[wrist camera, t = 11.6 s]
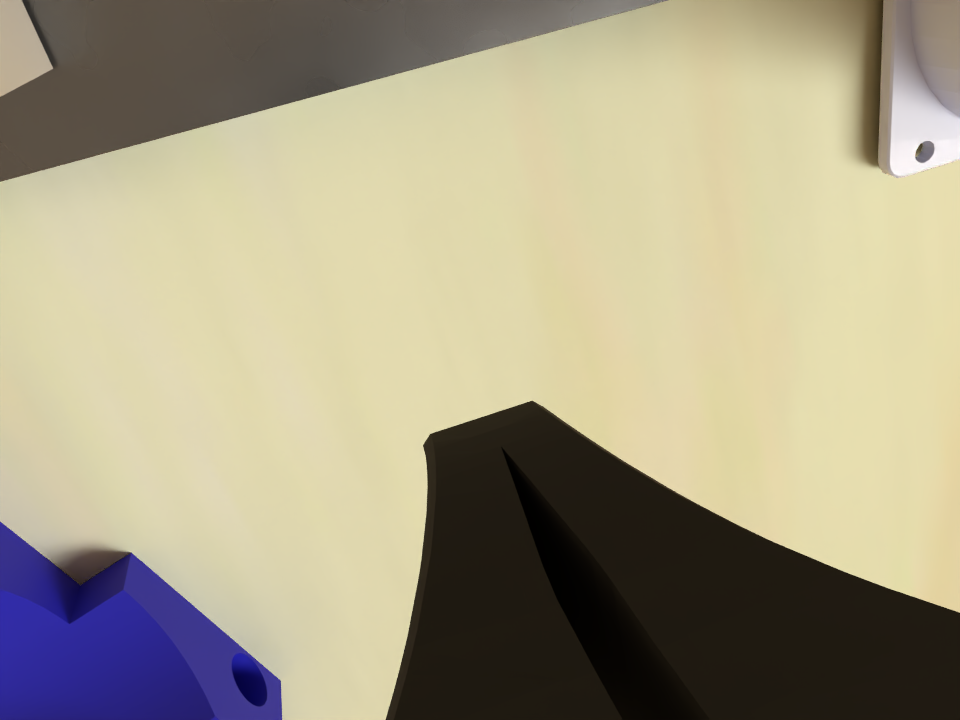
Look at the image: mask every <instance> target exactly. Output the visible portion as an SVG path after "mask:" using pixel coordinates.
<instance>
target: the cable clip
mask: <svg viewBox="0 0 960 720" xmlns="http://www.w3.org/2000/svg"><path fill="white" fill-rule="evenodd" d="M0 720H282V703H281V681H280V680H279V679H278V678H277V677H276V676H274V675H273V674H272V673H271V672H270V671H269V670H267V669H266V668H265V667H264V666H263V665H262V664H260V663H259V662H258V661H257V660H256V659H255V658H253V657H252V656H251V655H250V654H249V653H248V652H246V651H245V650H244V649H243V648H242V647H241V646H239V645H238V644H237V643H236V642H235V641H234V640H232V639H231V638H230V637H229V636H228V635H227V634H225V633H224V632H223V631H222V630H221V629H220V628H218V627H217V626H216V625H215V624H214V623H213V622H212V621H210V620H209V619H208V618H207V617H206V616H205V615H203V614H202V613H201V612H200V611H199V610H198V609H196V608H195V607H194V606H193V605H192V604H191V603H189V602H188V601H187V600H186V599H185V598H184V597H182V596H181V595H180V594H179V593H178V592H177V591H175V590H174V589H173V588H172V587H171V586H170V585H168V584H167V583H166V582H165V581H164V580H163V579H161V578H160V577H159V576H158V575H157V574H156V573H154V572H153V571H152V570H151V569H150V568H149V567H147V566H146V565H145V564H144V563H143V562H142V561H140V560H139V559H138V558H137V557H136V556H135V555H133V554H132V553H130V554H128V555H127V556H125V557H124V558H122V559H121V560H119V561H117V562H116V563H114V564H113V565H111V566H110V567H108V568H106V569H105V570H103V571H102V572H100V573H99V574H97V575H96V576H94V577H92V578H91V579H89V580H88V581H86V582H85V583H83V584H81V585H79V584H78V583H77V582H76V581H74V580H73V579H72V578H71V577H69V576H68V575H67V574H66V573H64V572H63V571H62V570H60V569H59V568H58V567H57V566H55V565H54V564H53V563H52V562H50V561H49V560H48V559H47V558H45V557H44V556H43V555H42V554H40V553H39V552H38V551H36V550H35V549H34V548H33V547H31V546H30V545H29V544H28V543H26V542H25V541H24V540H23V539H21V538H20V537H19V536H18V535H16V534H15V533H14V532H13V531H11V530H10V529H9V528H7V527H6V526H5V525H4V524H2V523H1V522H0Z"/></svg>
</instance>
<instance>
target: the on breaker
mask: <svg viewBox="0 0 960 720" xmlns="http://www.w3.org/2000/svg"><path fill="white" fill-rule="evenodd" d="M52 69H53V67H52V65H51V63H50V61H49V59H48V56H47V54H46V52H45V50H44V48H43V45H42V43H41V41H40V39H39V37H38V35H37V32H36V30H35V28H34V26H33V24H32V22H31V19H30V17H29V15H28V13H27V11H26V9H25V6H24V4H23V2H22V0H0V97H1V96H3V95H5V94H7V93H8V92H10V91H12V90H14V89H16V88H18V87H20V86H22V85H24V84H25V83H27V82H29V81H31V80H33V79H35V78H37V77H39V76H40V75H42V74H44V73H46V72H48V71H50V70H52Z"/></svg>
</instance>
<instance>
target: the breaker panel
mask: <svg viewBox="0 0 960 720" xmlns="http://www.w3.org/2000/svg"><path fill="white" fill-rule="evenodd" d="M664 1H667V0H22V2H23V4H24V6H25V9H26V11H27V13H28V15H29V17H30V19H31V22H32V24H33V26H34V28H35V30H36V32H37V35H38V37H39V39H40V41H41V43H42V45H43V48H44V50H45V52H46V54H47V56H48V59H49V61H50V63H51V65H52V67H53V69H52V70H50V71H48V72H46V73H44V74H42V75H40V76H39V77H37V78H35V79H33V80H31V81H29V82H27V83H25V84H24V85H22V86H20V87H18V88H16V89H14V90H12V91H10V92H8V93H7V94H5V95H3V96H1V97H0V182H1V181H4V180H8V179H12V178H15V177H19V176H23V175H26V174H30V173H34V172H37V171H41V170H45V169H48V168H52V167H56V166H60V165H63V164H67V163H71V162H74V161H78V160H82V159H85V158H89V157H93V156H96V155H100V154H104V153H107V152H111V151H115V150H118V149H122V148H126V147H130V146H133V145H137V144H141V143H144V142H148V141H152V140H155V139H159V138H163V137H166V136H170V135H174V134H177V133H181V132H185V131H188V130H192V129H196V128H199V127H203V126H207V125H211V124H214V123H218V122H222V121H225V120H229V119H233V118H236V117H240V116H244V115H247V114H251V113H255V112H258V111H262V110H266V109H269V108H273V107H277V106H281V105H284V104H288V103H292V102H295V101H299V100H303V99H306V98H310V97H314V96H317V95H321V94H325V93H328V92H332V91H336V90H339V89H343V88H347V87H350V86H354V85H358V84H362V83H365V82H369V81H373V80H376V79H380V78H384V77H387V76H391V75H395V74H398V73H402V72H406V71H409V70H413V69H417V68H420V67H424V66H428V65H431V64H435V63H439V62H443V61H446V60H450V59H454V58H457V57H461V56H465V55H468V54H472V53H476V52H479V51H483V50H487V49H490V48H494V47H498V46H501V45H505V44H509V43H513V42H516V41H520V40H524V39H527V38H531V37H535V36H538V35H542V34H546V33H549V32H553V31H557V30H560V29H564V28H568V27H571V26H575V25H579V24H582V23H586V22H590V21H594V20H597V19H601V18H605V17H608V16H612V15H616V14H619V13H623V12H627V11H630V10H634V9H638V8H641V7H645V6H649V5H652V4H656V3H660V2H664Z"/></svg>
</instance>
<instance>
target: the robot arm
mask: <svg viewBox="0 0 960 720" xmlns="http://www.w3.org/2000/svg"><path fill="white" fill-rule="evenodd" d="M921 143H922V144H923V146H922V150H921V152H920V153H919V155H918V156H917V157H915V153H916V150H917V148H918V147H919V145H920V144H921ZM957 160H960V0H883V30H882V59H881V89H880V119H879V148H878V163H879V168H880V169H881V170H882V172H883V173H885V174H888V175H891V176H893V177H896V178H900V177H906V176H909V175H912V174H916V173H919V172H922V171H925V170H928V169H932V168H935V167H938V166H941V165H945V164H948V163H951V162H954V161H957ZM423 447H424V451H425V455H426V462H427V475H428V492H427V514H426V524H425V533H424V542H423V551H422V560H421V567H420V574H419V579H418V585H417V590H416V595H415V600H414V606H413V611H412V616H411V621H410V627H409V632H408V637H407V641H406V646H405V650H404V654H403V658H402V662H401V666H400V670H399V674H398V678H397V682H396V685H395V689H394V693H393V696H392V700H391V703H390V707H389V710H388V714H387V717H386V720H960V613H959V612H956V611H953V610H950V609H947V608H944V607H941V606H938V605H935V604H932V603H929V602H926V601H924V600H921V599H918V598H915V597H912V596H909V595H906V594H903V593H900V592H897V591H894V590H891V589H888V588H886V587H883V586H880V585H878V584H875V583H872V582H870V581H867V580H864V579H862V578H859V577H856V576H854V575H851V574H848V573H846V572H843V571H841V570H838V569H836V568H833V567H831V566H829V565H826V564H824V563H822V562H819V561H817V560H814V559H812V558H810V557H807V556H805V555H803V554H800V553H798V552H795V551H793V550H791V549H788V548H786V547H784V546H781V545H779V544H776V543H774V542H772V541H770V540H767V539H765V538H763V537H761V536H759V535H757V534H755V533H753V532H751V531H749V530H747V529H745V528H743V527H741V526H738V525H737V524H735V523H733V522H731V521H729V520H727V519H725V518H723V517H721V516H719V515H717V514H715V513H713V512H711V511H710V510H708V509H706V508H704V507H702V506H700V505H698V504H696V503H694V502H692V501H691V500H689V499H687V498H685V497H684V496H682V495H680V494H678V493H676V492H675V491H673V490H671V489H669V488H668V487H666V486H664V485H662V484H661V483H659V482H657V481H656V480H654V479H652V478H651V477H649V476H647V475H646V474H644V473H642V472H641V471H639V470H637V469H636V468H634V467H632V466H631V465H629V464H627V463H626V462H624V461H622V460H621V459H619V458H618V457H616V456H615V455H613V454H611V453H610V452H608V451H607V450H605V449H604V448H602V447H601V446H599V445H598V444H596V443H595V442H593V441H592V440H590V439H589V438H587V437H586V436H584V435H583V434H581V433H580V432H578V431H577V430H575V429H574V428H572V427H571V426H570V425H568V424H567V423H565V422H564V421H562V420H561V419H560V418H558V417H557V416H555V415H554V414H553V413H551V412H550V411H548V410H547V409H546V408H544V407H543V406H541V405H539V404H537V403H535V402H533V401H530V402H527V403H524V404H521V405H518V406H515V407H512V408H509V409H506V410H502V411H499V412H496V413H493V414H490V415H487V416H484V417H481V418H478V419H475V420H472V421H469V422H466V423H463V424H460V425H457V426H454V427H450V428H447V429H444V430H441V431H438V432H435V433H432V434H430V435H429V437H428V439H427V440H426V442H425V443H424V445H423Z"/></svg>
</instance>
